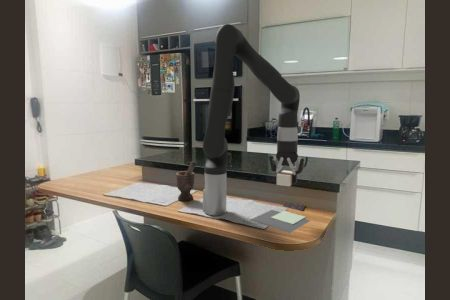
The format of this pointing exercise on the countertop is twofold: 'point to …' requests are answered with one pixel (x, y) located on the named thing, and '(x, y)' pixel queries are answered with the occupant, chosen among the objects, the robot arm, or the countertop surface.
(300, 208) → the chocolate bar
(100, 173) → the countertop surface
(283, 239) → the countertop surface
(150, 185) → the countertop surface
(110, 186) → the countertop surface
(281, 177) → the card box
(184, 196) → the mortar and pestle
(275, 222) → the mat
